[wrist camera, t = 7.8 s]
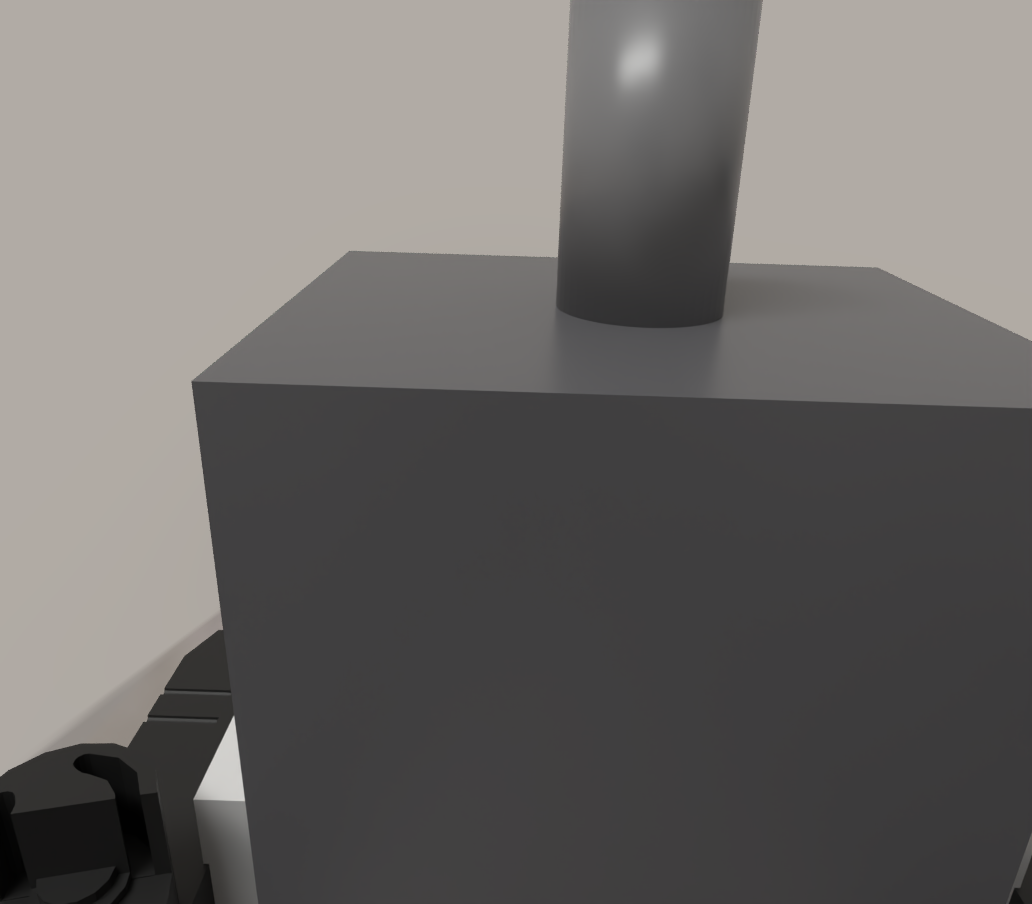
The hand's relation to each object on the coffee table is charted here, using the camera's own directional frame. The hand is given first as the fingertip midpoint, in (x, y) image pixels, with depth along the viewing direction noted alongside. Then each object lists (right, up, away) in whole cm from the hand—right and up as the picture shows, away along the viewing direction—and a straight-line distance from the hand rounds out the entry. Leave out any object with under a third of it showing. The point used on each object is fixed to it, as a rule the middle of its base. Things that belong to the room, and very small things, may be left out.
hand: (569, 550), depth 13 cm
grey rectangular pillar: (0, -9, -2) cm, 10 cm away
